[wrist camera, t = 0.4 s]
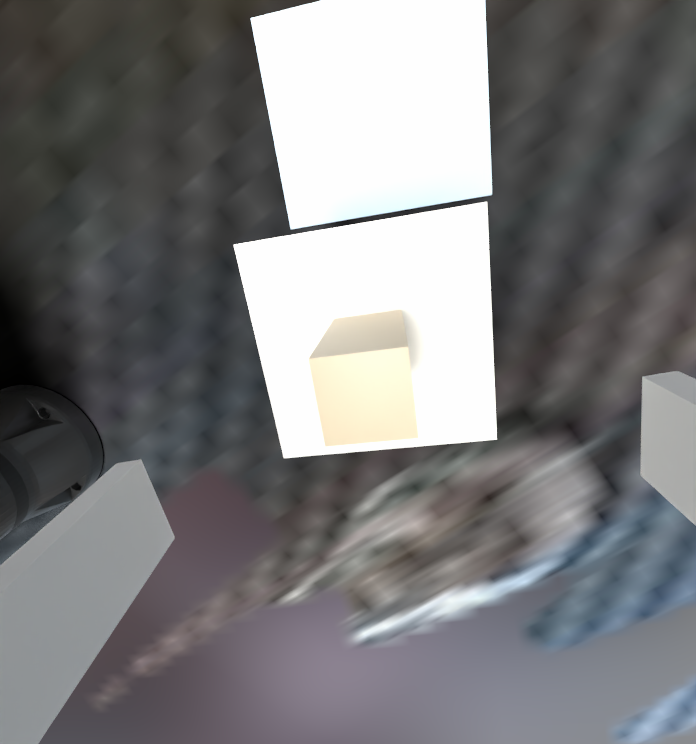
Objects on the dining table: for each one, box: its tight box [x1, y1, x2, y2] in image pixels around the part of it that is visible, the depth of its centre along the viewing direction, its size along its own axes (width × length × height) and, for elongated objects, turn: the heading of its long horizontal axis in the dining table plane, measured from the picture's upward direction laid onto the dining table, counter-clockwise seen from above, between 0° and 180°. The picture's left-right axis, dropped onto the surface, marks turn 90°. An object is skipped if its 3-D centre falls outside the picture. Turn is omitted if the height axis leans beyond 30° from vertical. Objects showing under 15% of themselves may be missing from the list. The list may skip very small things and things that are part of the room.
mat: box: [251, 0, 492, 229], centre depth 33 cm, size 18×16×1 cm
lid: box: [234, 202, 497, 458], centre depth 20 cm, size 14×14×9 cm
